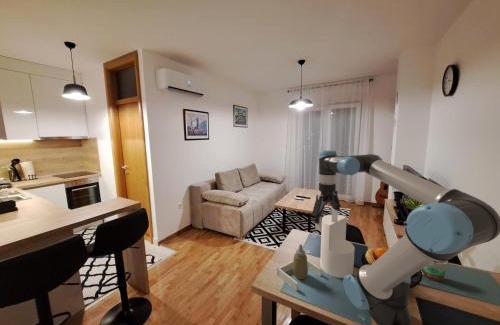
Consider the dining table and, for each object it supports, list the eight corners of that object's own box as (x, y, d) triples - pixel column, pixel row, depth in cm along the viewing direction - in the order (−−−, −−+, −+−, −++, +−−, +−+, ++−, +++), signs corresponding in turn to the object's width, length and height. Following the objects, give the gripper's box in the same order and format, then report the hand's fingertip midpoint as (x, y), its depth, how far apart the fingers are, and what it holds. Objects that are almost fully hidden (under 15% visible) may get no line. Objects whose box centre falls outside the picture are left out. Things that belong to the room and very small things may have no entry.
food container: (420, 279, 107) (422, 261, 106) (416, 271, 113) (418, 254, 111) (451, 286, 102) (454, 267, 101) (446, 278, 108) (448, 260, 106)
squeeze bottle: (308, 282, 106) (309, 249, 104) (292, 280, 108) (292, 248, 105) (307, 271, 114) (308, 241, 112) (292, 270, 116) (292, 240, 113)
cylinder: (314, 266, 119) (315, 220, 115) (330, 254, 129) (332, 212, 125) (342, 283, 105) (345, 231, 101) (359, 269, 116) (362, 221, 112)
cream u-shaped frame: (321, 275, 111) (321, 268, 110) (296, 291, 101) (296, 283, 100) (301, 262, 123) (301, 256, 122) (277, 275, 112) (277, 268, 112)
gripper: (334, 178, 109) (333, 217, 111) (303, 185, 94) (303, 230, 96) (348, 180, 103) (347, 221, 105) (318, 188, 88) (317, 236, 90)
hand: (326, 225), depth 101 cm, fingers open, 13 cm apart
